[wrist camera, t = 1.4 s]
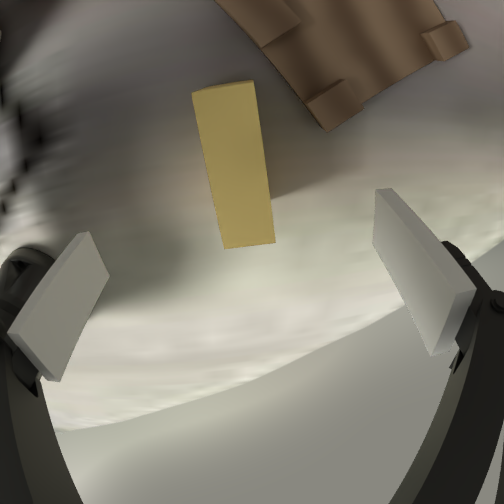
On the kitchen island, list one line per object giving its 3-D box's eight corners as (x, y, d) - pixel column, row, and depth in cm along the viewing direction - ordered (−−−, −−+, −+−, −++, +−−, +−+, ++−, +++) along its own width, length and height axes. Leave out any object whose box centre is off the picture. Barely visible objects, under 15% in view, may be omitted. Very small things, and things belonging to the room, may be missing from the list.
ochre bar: (269, 199, 30) (275, 242, 23) (230, 205, 30) (224, 249, 24) (252, 79, 23) (253, 82, 17) (207, 86, 24) (191, 92, 17)
